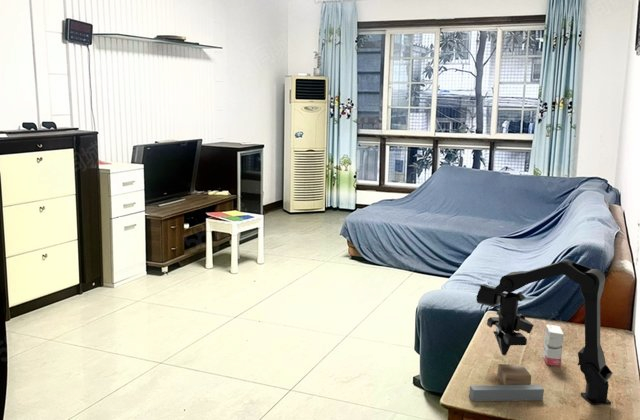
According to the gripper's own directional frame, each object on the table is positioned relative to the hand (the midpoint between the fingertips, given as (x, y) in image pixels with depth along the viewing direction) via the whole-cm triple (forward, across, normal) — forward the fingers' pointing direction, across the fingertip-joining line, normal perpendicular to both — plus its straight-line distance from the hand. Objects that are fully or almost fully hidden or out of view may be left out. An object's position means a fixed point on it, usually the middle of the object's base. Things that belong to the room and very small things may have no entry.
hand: (503, 355), depth 202 cm
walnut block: (+6, -9, 0) cm, 11 cm away
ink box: (+6, +7, -21) cm, 23 cm away
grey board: (+5, -19, +7) cm, 21 cm away
